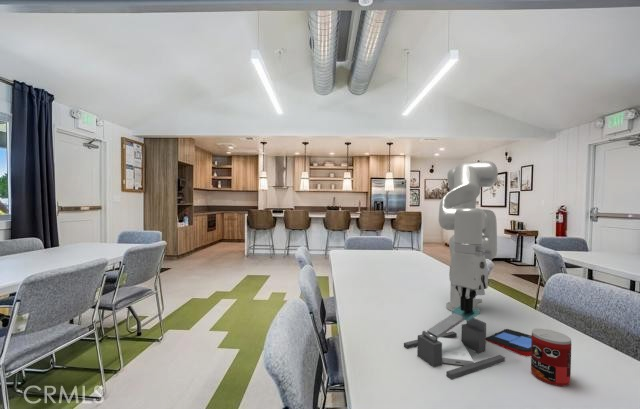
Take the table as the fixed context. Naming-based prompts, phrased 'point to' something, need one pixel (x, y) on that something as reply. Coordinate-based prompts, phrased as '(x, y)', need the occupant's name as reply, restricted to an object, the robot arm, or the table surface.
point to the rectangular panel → (450, 323)
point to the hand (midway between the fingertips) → (466, 310)
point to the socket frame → (471, 339)
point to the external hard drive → (454, 352)
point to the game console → (512, 341)
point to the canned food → (551, 356)
